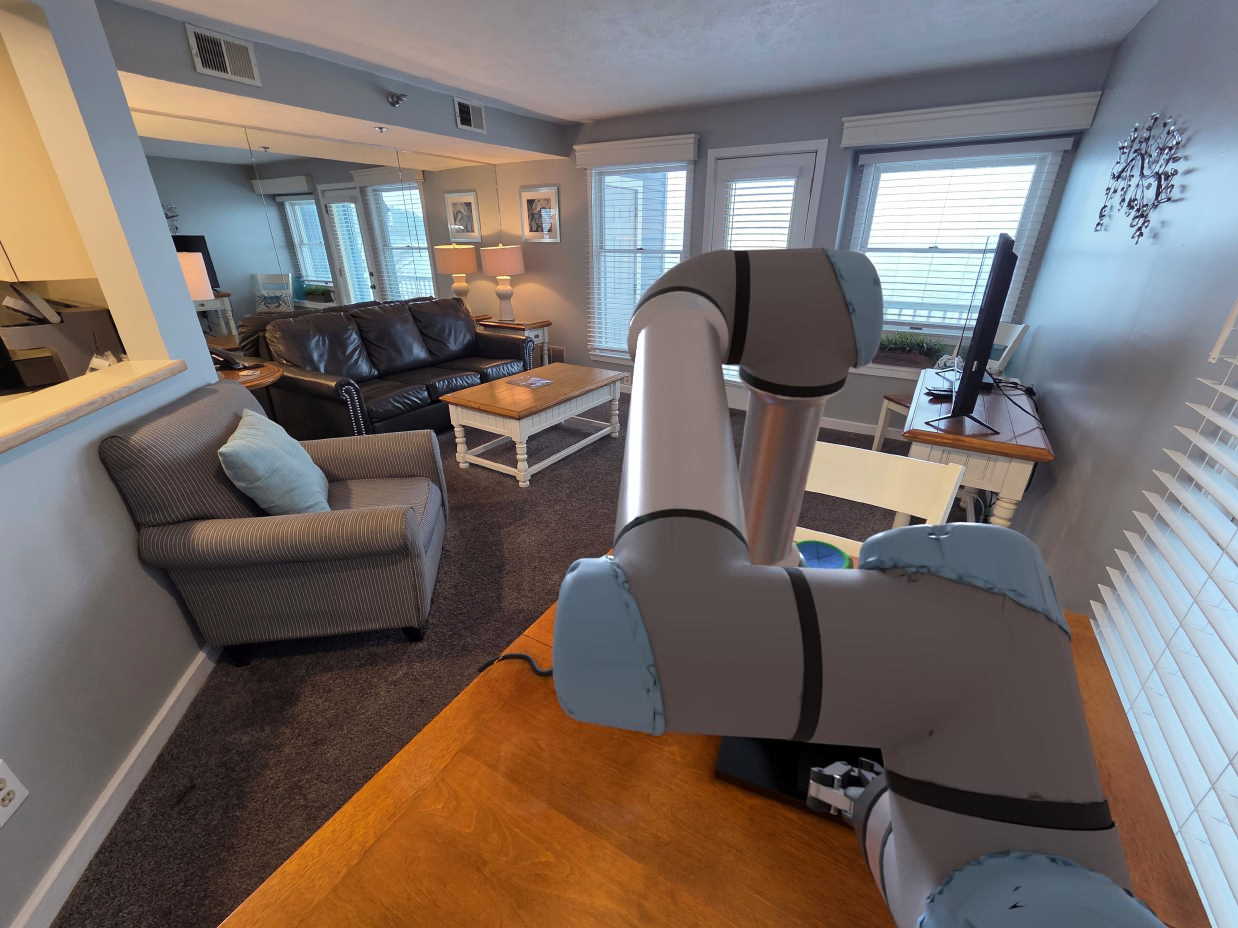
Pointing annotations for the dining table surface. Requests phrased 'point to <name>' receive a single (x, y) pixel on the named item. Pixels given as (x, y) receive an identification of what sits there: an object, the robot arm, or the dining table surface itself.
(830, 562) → the snack cup
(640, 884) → the dining table surface
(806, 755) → the laptop
